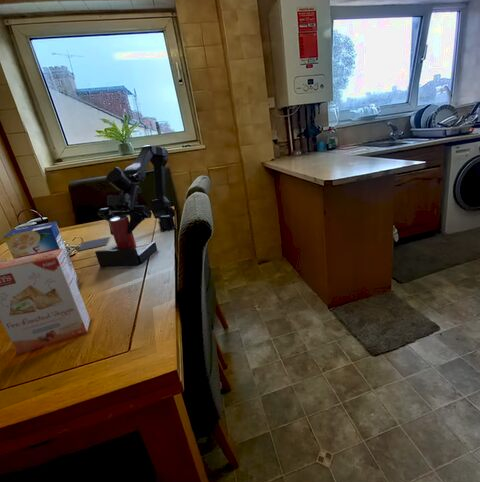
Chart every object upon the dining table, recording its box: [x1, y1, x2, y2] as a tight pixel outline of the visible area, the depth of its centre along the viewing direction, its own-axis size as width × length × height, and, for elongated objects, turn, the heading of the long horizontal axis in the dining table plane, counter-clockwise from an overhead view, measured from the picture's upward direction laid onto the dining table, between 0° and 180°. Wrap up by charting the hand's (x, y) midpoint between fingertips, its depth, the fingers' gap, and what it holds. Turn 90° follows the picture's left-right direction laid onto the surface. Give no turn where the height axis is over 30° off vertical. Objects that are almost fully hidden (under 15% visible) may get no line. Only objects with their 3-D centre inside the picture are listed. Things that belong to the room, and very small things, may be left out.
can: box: [108, 215, 138, 249], centre depth 103 cm, size 6×6×12 cm
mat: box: [77, 236, 110, 252], centre depth 127 cm, size 11×11×1 cm
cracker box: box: [0, 249, 91, 355], centre depth 63 cm, size 14×6×21 cm, turn 114°
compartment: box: [94, 241, 158, 268], centre depth 105 cm, size 13×16×7 cm
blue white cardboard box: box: [3, 220, 80, 287], centre depth 83 cm, size 7×11×22 cm, turn 116°
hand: (120, 234), depth 101 cm, fingers closed on can, 6 cm apart
